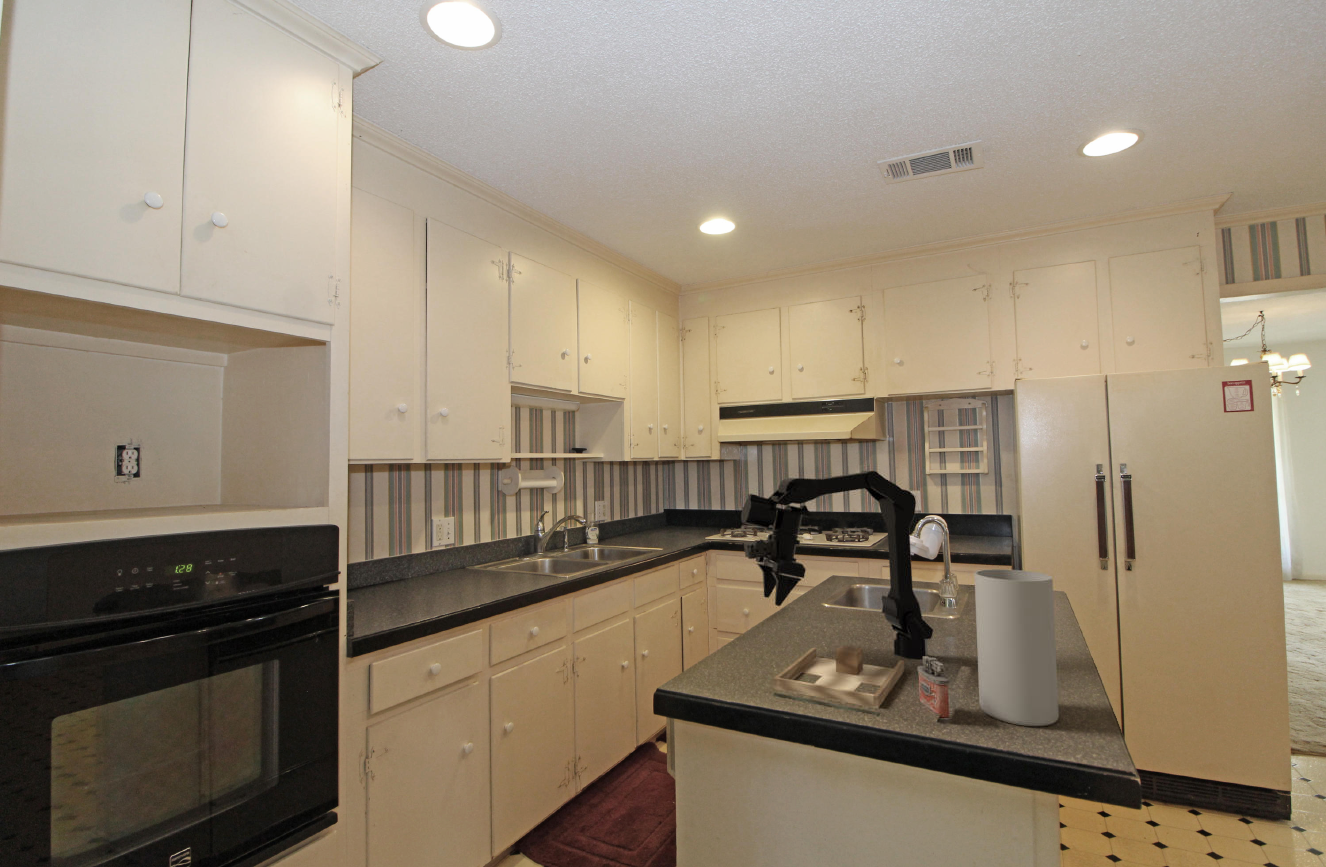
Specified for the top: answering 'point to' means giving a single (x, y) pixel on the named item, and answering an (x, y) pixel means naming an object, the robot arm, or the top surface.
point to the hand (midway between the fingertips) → (771, 601)
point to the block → (849, 660)
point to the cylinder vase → (1016, 646)
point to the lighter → (934, 688)
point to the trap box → (837, 682)
